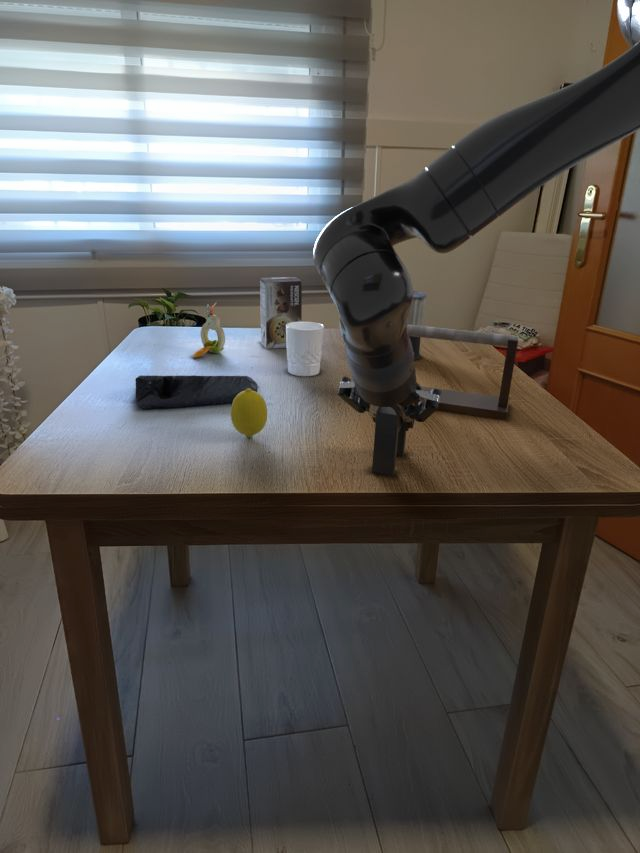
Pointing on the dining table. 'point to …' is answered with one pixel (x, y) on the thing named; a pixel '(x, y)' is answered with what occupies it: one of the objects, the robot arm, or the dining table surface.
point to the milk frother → (416, 319)
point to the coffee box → (279, 308)
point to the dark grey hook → (387, 441)
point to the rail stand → (472, 401)
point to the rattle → (208, 345)
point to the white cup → (304, 347)
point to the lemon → (249, 412)
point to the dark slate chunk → (189, 390)
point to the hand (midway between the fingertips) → (394, 422)
